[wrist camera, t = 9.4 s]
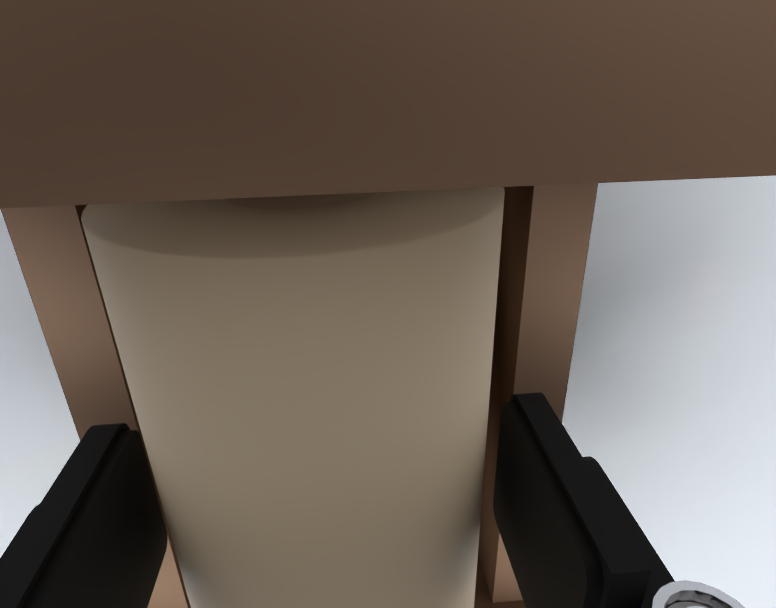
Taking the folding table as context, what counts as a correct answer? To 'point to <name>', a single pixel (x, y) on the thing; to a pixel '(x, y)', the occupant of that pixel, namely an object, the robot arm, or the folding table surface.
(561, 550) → the robot arm
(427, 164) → the roll cradle
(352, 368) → the paper roll
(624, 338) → the folding table surface
